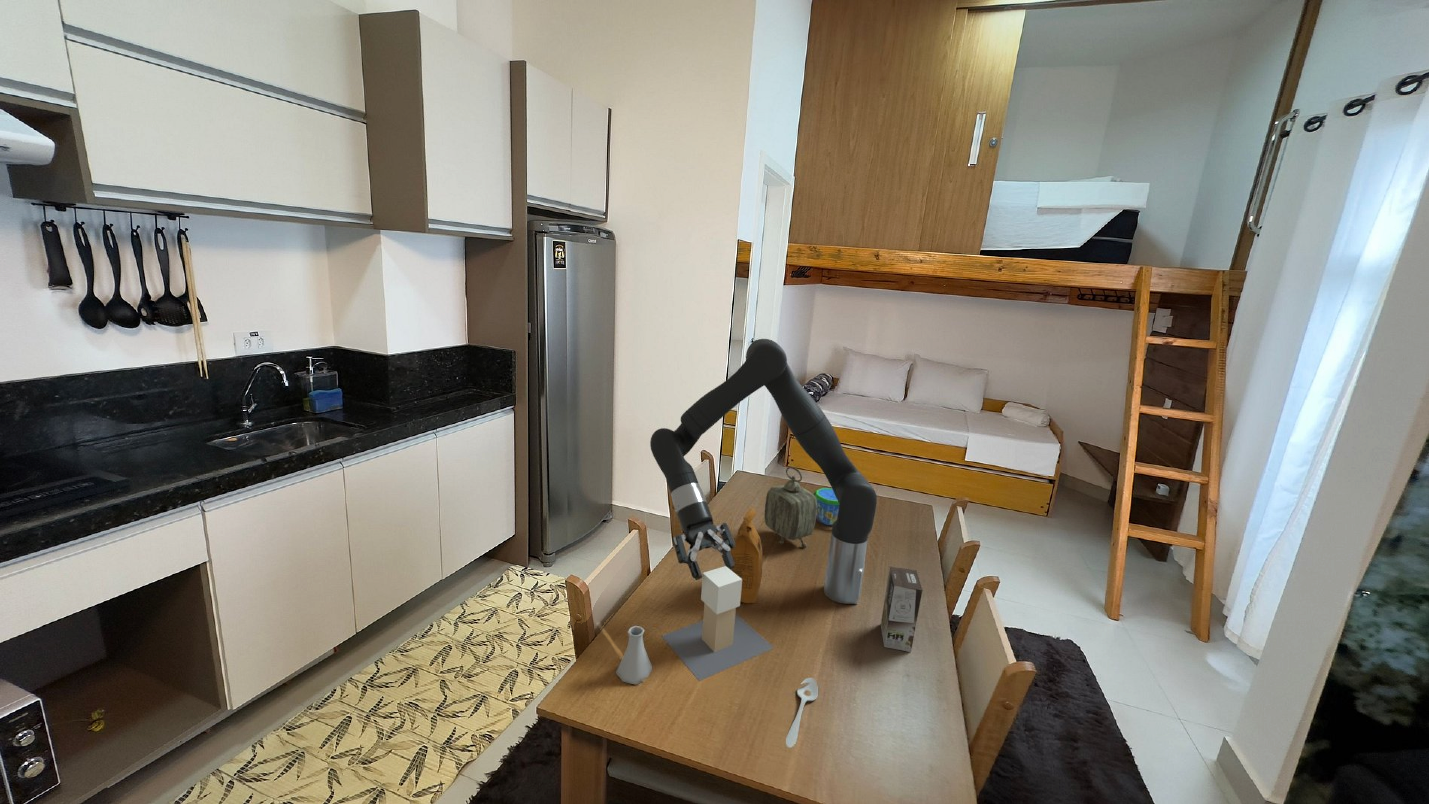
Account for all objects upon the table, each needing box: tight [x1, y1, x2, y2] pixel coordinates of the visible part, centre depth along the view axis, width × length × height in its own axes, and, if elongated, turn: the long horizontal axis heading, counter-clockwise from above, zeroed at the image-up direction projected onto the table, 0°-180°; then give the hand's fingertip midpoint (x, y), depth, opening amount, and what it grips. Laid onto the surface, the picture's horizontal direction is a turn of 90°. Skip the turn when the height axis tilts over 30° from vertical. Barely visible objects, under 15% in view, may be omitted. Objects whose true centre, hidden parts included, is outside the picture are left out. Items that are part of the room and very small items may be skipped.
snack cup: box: [812, 487, 839, 526], centre depth 189 cm, size 16×10×10 cm
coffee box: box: [880, 566, 924, 653], centre depth 130 cm, size 9×6×16 cm
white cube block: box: [700, 565, 742, 614], centre depth 122 cm, size 6×6×7 cm
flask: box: [615, 625, 653, 685], centre depth 114 cm, size 7×7×10 cm
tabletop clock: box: [764, 466, 817, 549], centre depth 171 cm, size 14×9×25 cm, turn 34°
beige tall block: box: [702, 602, 737, 652], centre depth 123 cm, size 5×5×16 cm
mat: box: [661, 612, 774, 682], centre depth 125 cm, size 20×16×1 cm
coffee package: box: [730, 508, 763, 604], centre depth 143 cm, size 10×12×22 cm
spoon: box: [785, 677, 819, 748], centre depth 107 cm, size 4×21×2 cm, turn 157°
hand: (715, 574), depth 123 cm, fingers open, 8 cm apart
